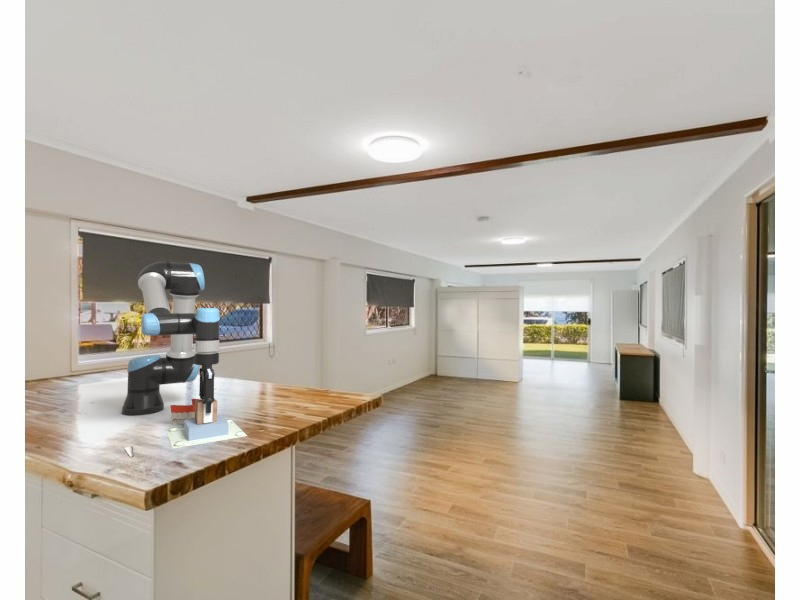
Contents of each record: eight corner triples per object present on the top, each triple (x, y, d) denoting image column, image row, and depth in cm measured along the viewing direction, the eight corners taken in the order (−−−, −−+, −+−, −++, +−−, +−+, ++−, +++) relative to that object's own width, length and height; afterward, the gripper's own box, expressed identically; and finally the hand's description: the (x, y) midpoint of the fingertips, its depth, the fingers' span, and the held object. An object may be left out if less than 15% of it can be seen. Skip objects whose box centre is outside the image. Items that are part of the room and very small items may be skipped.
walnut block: (194, 420, 140) (195, 400, 140) (213, 418, 143) (214, 398, 143) (197, 424, 135) (197, 403, 135) (216, 422, 138) (217, 401, 138)
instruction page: (124, 448, 127) (124, 447, 127) (149, 443, 131) (149, 442, 131) (130, 457, 119) (130, 456, 119) (157, 451, 124) (157, 450, 124)
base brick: (183, 431, 140) (184, 420, 140) (221, 426, 147) (221, 415, 147) (188, 441, 130) (188, 428, 130) (228, 434, 137) (228, 422, 137)
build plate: (165, 433, 141) (166, 427, 142) (232, 424, 154) (232, 418, 154) (172, 452, 123) (172, 445, 123) (247, 439, 136) (247, 432, 136)
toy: (193, 429, 147) (194, 407, 148) (168, 427, 149) (169, 405, 150) (215, 420, 160) (216, 399, 160) (192, 418, 162) (192, 398, 162)
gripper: (190, 350, 145) (189, 415, 145) (199, 355, 129) (198, 428, 129) (213, 349, 149) (212, 412, 149) (224, 354, 134) (223, 424, 133)
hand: (206, 420), depth 139 cm, fingers closed on walnut block, 6 cm apart
